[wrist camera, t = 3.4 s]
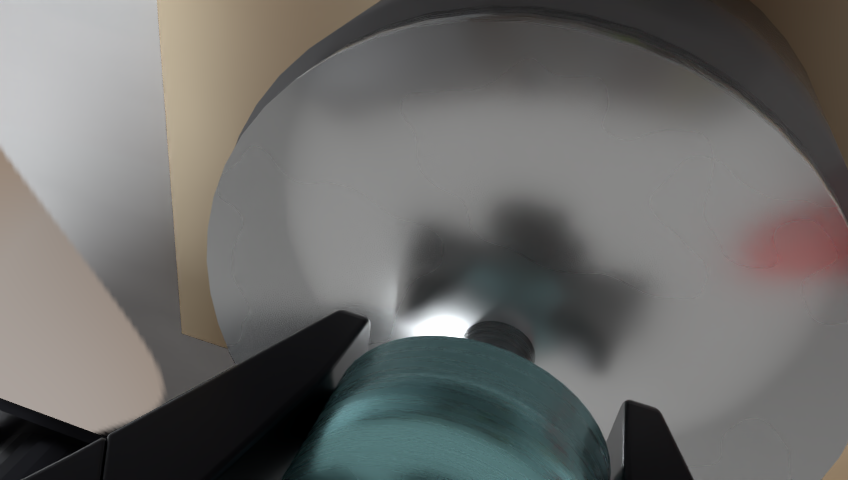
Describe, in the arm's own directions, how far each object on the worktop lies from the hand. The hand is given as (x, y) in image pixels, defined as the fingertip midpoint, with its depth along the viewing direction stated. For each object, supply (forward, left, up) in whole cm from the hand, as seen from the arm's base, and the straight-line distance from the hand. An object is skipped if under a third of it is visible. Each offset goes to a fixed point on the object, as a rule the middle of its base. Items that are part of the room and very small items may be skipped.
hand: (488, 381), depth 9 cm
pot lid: (0, 0, -1) cm, 1 cm away
